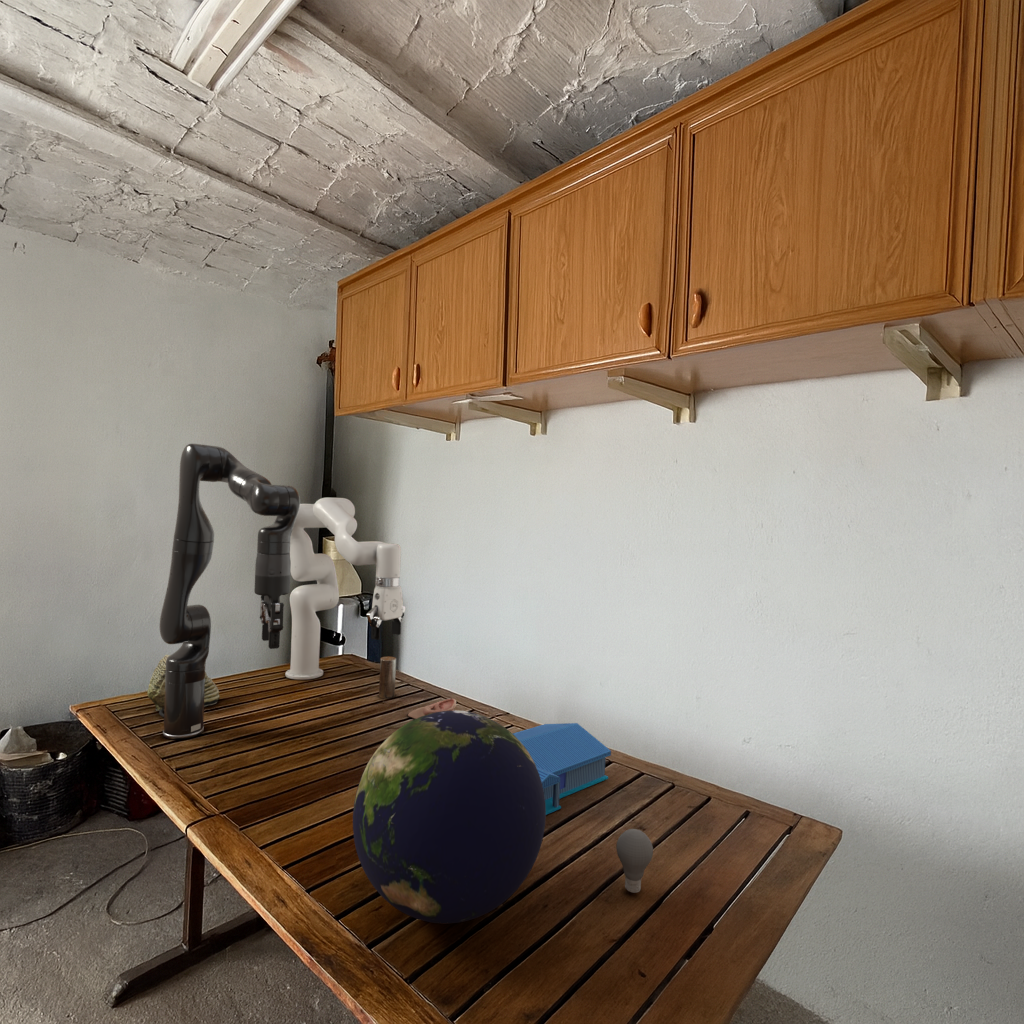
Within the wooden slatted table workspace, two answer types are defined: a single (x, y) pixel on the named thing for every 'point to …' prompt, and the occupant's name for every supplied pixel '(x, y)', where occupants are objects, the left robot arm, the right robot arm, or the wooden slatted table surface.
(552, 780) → the model building
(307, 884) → the wooden slatted table surface
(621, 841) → the light bulb
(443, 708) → the anatomical model
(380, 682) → the can
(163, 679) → the fossil
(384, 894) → the globe
